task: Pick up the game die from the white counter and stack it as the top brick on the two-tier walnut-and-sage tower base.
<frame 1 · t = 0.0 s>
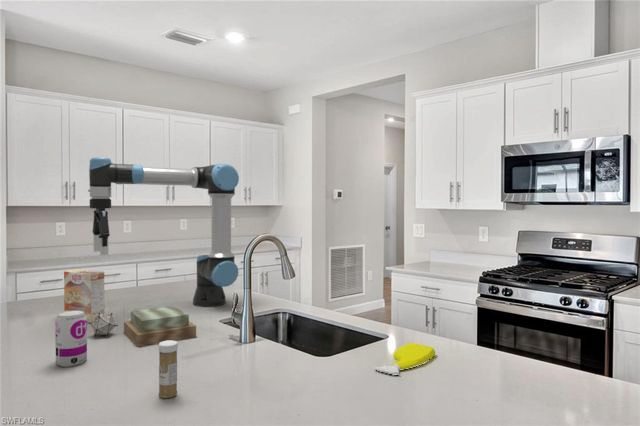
hand: (100, 253, 178), 28 cm above the table, tool pointing down, fingers open, 13 cm apart
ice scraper: (405, 364, 141), on the table
tower base: (159, 334, 167), on the table
coffeecake box: (84, 319, 188), on the table
supplement can: (71, 363, 138), on the table
game die: (103, 336, 166), on the table
sprinkles bottle: (168, 395, 116), on the table
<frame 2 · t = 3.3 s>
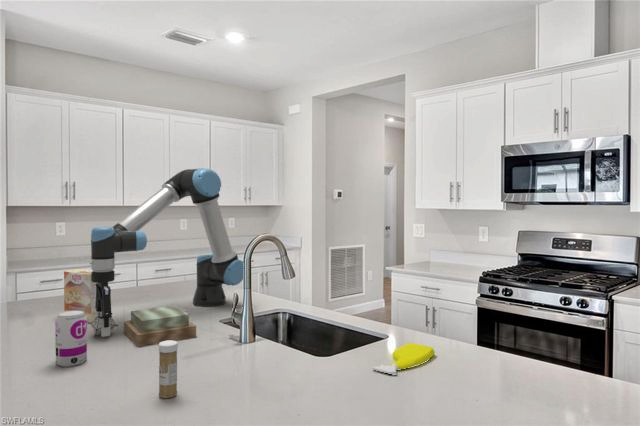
hand: (103, 332, 166), 1 cm above the table, tool pointing down, fingers closed on game die, 9 cm apart
game die: (103, 335, 166), on the table, touching gripper
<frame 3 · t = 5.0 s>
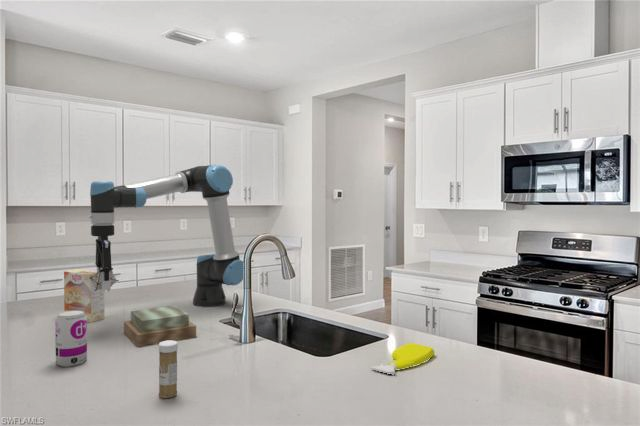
hand: (103, 287, 165), 17 cm above the table, tool pointing down, fingers closed on game die, 9 cm apart
game die: (104, 290, 165), point 16 cm above the table, touching gripper
everything else where it was.
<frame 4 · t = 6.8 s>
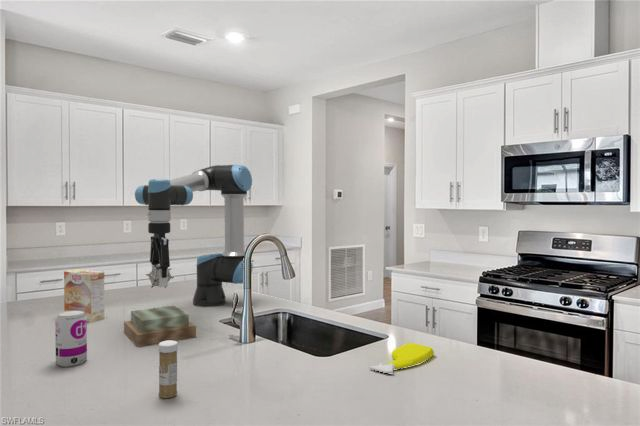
hand: (159, 284, 167), 18 cm above the table, tool pointing down, fingers closed on game die, 9 cm apart
game die: (160, 287, 167), point 17 cm above the table, touching gripper
everything else where it was.
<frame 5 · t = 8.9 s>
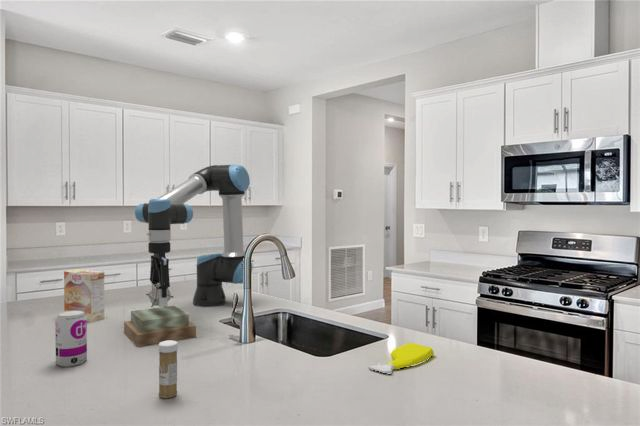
hand: (159, 303, 167), 11 cm above the table, tool pointing down, fingers closed on game die, 9 cm apart
game die: (160, 307, 167), point 10 cm above the table, touching gripper
when the fingers open (10 cm above the table, at t = 10.6 s): game die stays where it is, resting on tower base.
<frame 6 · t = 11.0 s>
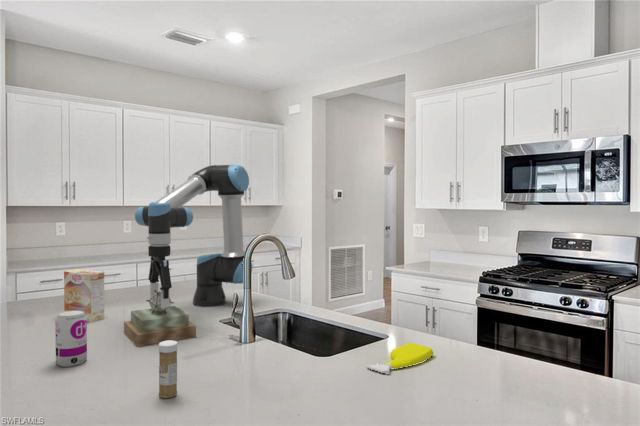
hand: (159, 303, 167), 11 cm above the table, tool pointing down, fingers open, 13 cm apart
game die: (160, 313, 167), point 8 cm above the table, touching tower base
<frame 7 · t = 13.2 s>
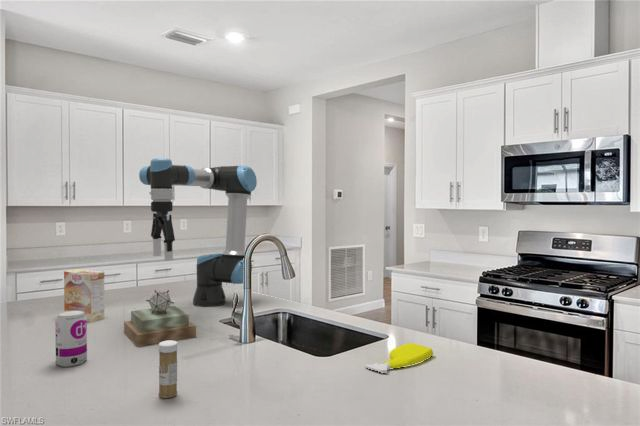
hand: (162, 258, 171), 27 cm above the table, tool pointing down, fingers open, 13 cm apart
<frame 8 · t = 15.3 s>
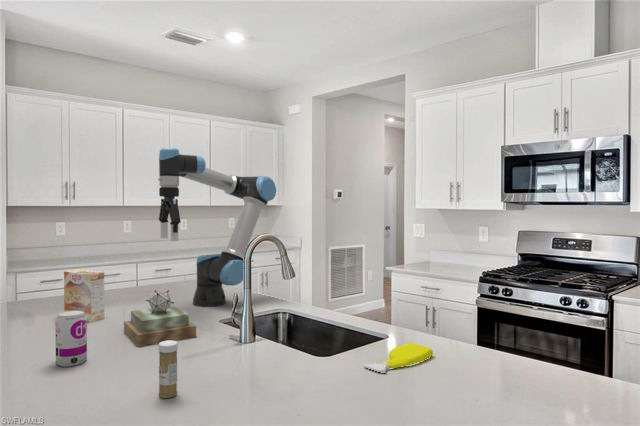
hand: (169, 239, 186), 33 cm above the table, tool pointing down, fingers open, 13 cm apart
at the end: game die inside the target area on the tower base (0.4 cm from its centre), point 7.8 cm above the tower base's base; game die touching tower base; the gripper is holding nothing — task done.
